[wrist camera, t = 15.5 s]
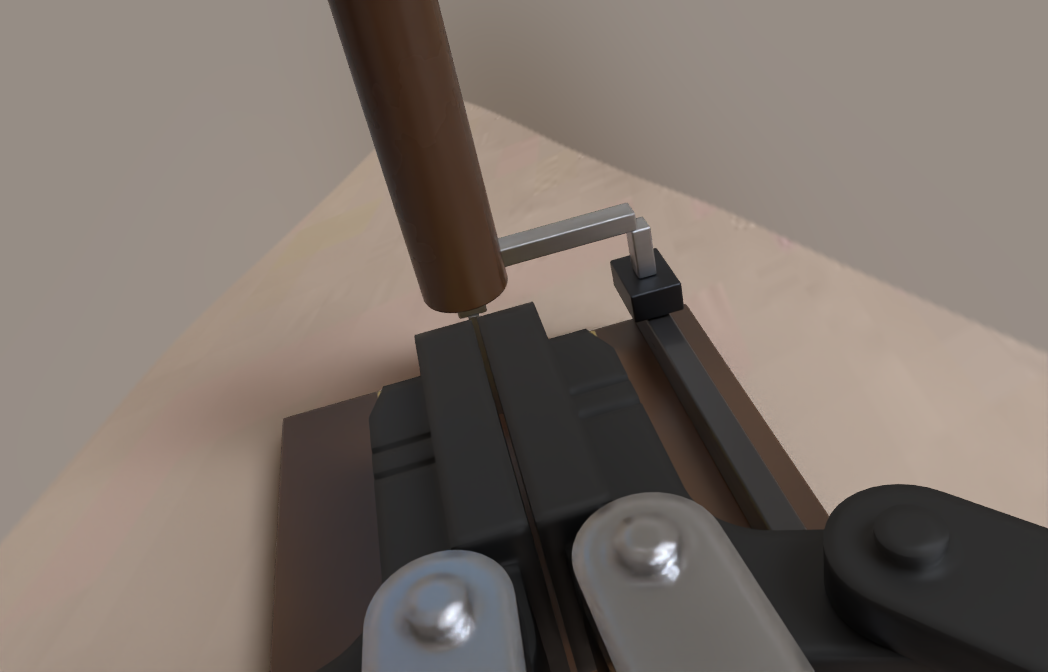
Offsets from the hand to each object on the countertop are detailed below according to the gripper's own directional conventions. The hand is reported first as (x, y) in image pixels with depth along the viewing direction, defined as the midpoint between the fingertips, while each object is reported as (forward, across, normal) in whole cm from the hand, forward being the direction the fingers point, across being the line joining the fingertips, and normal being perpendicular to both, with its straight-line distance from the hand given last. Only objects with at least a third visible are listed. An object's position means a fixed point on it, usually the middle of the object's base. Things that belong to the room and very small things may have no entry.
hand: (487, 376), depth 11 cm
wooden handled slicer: (+14, -3, +10) cm, 18 cm away
